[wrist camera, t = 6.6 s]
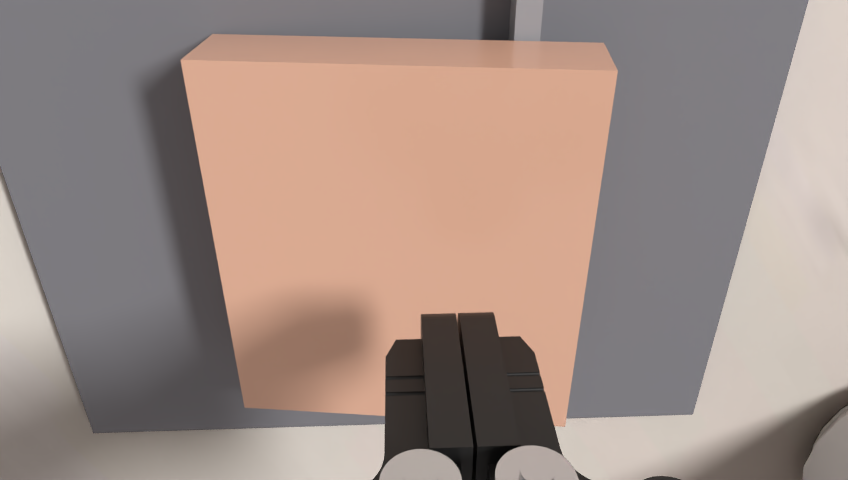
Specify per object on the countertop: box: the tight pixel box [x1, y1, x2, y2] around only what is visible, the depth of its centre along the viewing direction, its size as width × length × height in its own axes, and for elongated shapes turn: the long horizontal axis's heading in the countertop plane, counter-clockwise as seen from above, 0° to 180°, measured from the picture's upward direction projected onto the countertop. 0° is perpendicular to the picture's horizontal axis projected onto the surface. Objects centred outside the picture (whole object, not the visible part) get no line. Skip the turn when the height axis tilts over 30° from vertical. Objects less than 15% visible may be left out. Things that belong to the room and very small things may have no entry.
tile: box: [181, 34, 618, 427], centre depth 18 cm, size 2×10×9 cm
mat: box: [0, 0, 808, 433], centre depth 19 cm, size 20×16×1 cm
